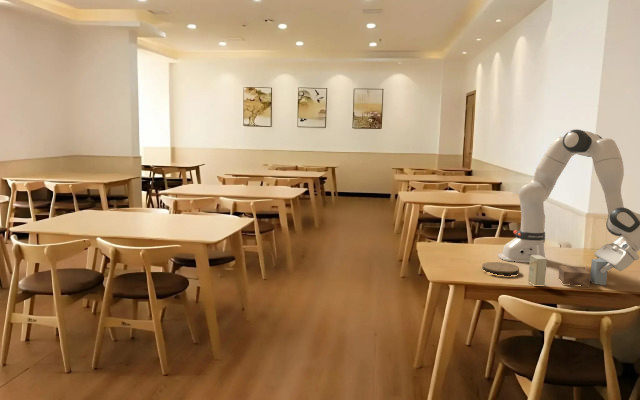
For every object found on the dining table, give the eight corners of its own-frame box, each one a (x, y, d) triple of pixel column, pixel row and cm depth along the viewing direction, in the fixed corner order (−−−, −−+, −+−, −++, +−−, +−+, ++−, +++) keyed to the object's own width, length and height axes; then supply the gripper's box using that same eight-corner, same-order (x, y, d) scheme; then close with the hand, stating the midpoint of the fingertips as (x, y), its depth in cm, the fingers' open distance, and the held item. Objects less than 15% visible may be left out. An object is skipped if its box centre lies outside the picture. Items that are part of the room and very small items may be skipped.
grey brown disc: (516, 279, 218) (516, 273, 218) (478, 274, 226) (479, 268, 226) (521, 271, 232) (521, 264, 232) (485, 266, 240) (486, 260, 239)
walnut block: (562, 285, 210) (564, 271, 210) (558, 278, 220) (559, 265, 219) (589, 287, 208) (590, 273, 207) (583, 280, 217) (584, 267, 217)
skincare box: (527, 282, 213) (529, 254, 212) (537, 282, 214) (539, 254, 212) (535, 287, 207) (537, 258, 205) (545, 287, 207) (547, 258, 206)
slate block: (594, 284, 211) (596, 261, 210) (590, 281, 215) (591, 258, 214) (605, 285, 211) (607, 261, 209) (600, 281, 215) (602, 259, 214)
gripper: (606, 237, 220) (581, 258, 222) (631, 248, 200) (603, 271, 202) (616, 247, 220) (591, 268, 223) (642, 259, 200) (614, 282, 202)
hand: (597, 269), depth 212 cm, fingers closed on slate block, 4 cm apart
